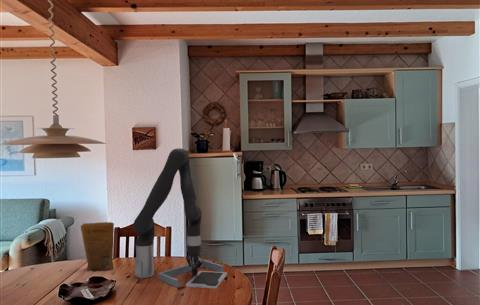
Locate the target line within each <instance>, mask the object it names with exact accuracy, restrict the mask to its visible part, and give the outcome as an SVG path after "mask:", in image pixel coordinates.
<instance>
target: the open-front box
mask: <svg viewBox="0 0 480 305" xmlns="http://www.w3.org/2000/svg"><path fill="white" fill-rule="evenodd" d="M202 260H203V263H202V265H201V266H200V268H197V270H199V269H201V268H208V269H209V270H213V271H215V272H224V265H222V264H218V263H216V262H212V261H210V260H205V259H202ZM189 272H192V268H191V267H190V266H189V264H186V265H182V266H179V267H178V266H177V267H176V268H172V269H169V270H165V271H161V272H158V280H159V281H161V282H163V283H165V284H168V285H171V286H173V287H175V288H179V287H180V282H179V281H180V280H179V279H177V278H175V277H176V276H178V275H182V274H185V273H189Z"/></svg>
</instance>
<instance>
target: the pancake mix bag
mask: <svg viewBox="0 0 480 305" xmlns="http://www.w3.org/2000/svg"><path fill="white" fill-rule="evenodd" d="M114 226H115V223H113V222H111V221H110V222H109V221H107V222H106V221H105V222H94V223H93V222H92V223H91V222H90V223H89V222H88V223H87V222H86V223H82V225H80V231H81V236H82V241H83V242H82V243H83V247H84V252H85V257H86V263H87V265H86V266H87V268H86V270H88V271H95V272H97V271H100V272H101V271H102V272H104V271H105V272H107V271H112V270H114V269H115V268H114V262H113V260H114V258H113V257H114V256H113V255H114V233H115V232H114V231H115V230H114V229H115V228H114Z"/></svg>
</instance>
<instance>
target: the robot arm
mask: <svg viewBox="0 0 480 305" xmlns="http://www.w3.org/2000/svg"><path fill="white" fill-rule="evenodd" d="M177 172H178V173H179V183H180V190H181V191H180V192H181V196H182V200H183V209H184V215H185V218H186V219H187V220H188V225H187V228H186V229H187V238H186V249H187V250H186V252H187V253H188V255H187V256H185V260H186V262H187V265H189V266H190V267H191V268H192V271H191V275H192V276H193V277H194V276H195V275H197V273H198V269H201V268H200V266H201V265H202V263H203V260H204V259H201V252H202V236H201V223H202V209H201V207H199V206H197V203H196V200H197V195H196V191H195V187H194V184H193V183H194V182H193V179H192V175H191V169H190V157H189V153H188V151H187V150H186V149H184V148H180V147H179V148H174V149H172V150H171V151H170V153H169V154H168V156H167V159H166V161H165V164H164V167H163V169H162V171H160V174H159V175H158V177H157V179H156V181H155V183H154V185H153V186H152V189H151V190H150V192H149V195H148V196H147V199H146V200H145V203H144V205H143V207H142V209H141V210H140V212H139V213H138V215H137V217H136V218H135V219H134V222H133V225H132V227H133V230H134V232H135V233H137V238H136V240H135V250H136V251H135V253H136V255H135V256H136V258H134V273H135V274H134V276H135V277H137V278H139V279H146V278H151V277H153V276H154V275H155V262H154V261H155V259H154V258H155V257H154V256H155V255H154V239H155V220H154V216H155V214H156V213H157V211H158V210H159V209H160V208H161V207H162V205H163V204H164V203H165V201H166V200H167V199H168V196H169V195H170V192H171V190H172V187H173V184H174V180H175V177H176V174H177ZM197 268H198V269H197Z"/></svg>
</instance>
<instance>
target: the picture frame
mask: <svg viewBox="0 0 480 305" xmlns="http://www.w3.org/2000/svg"><path fill="white" fill-rule="evenodd" d="M227 275H228V272H227V271H223V272H219V271H215V270H213V271H212V270H199V271H197V275H195V276H193V277H191V279H190V280H189V281H188V282H186V284H185V285H186V288H203V289H217V288H218V287H219V286H220V284H222V282H223V280H225V278H226V277H227Z"/></svg>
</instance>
